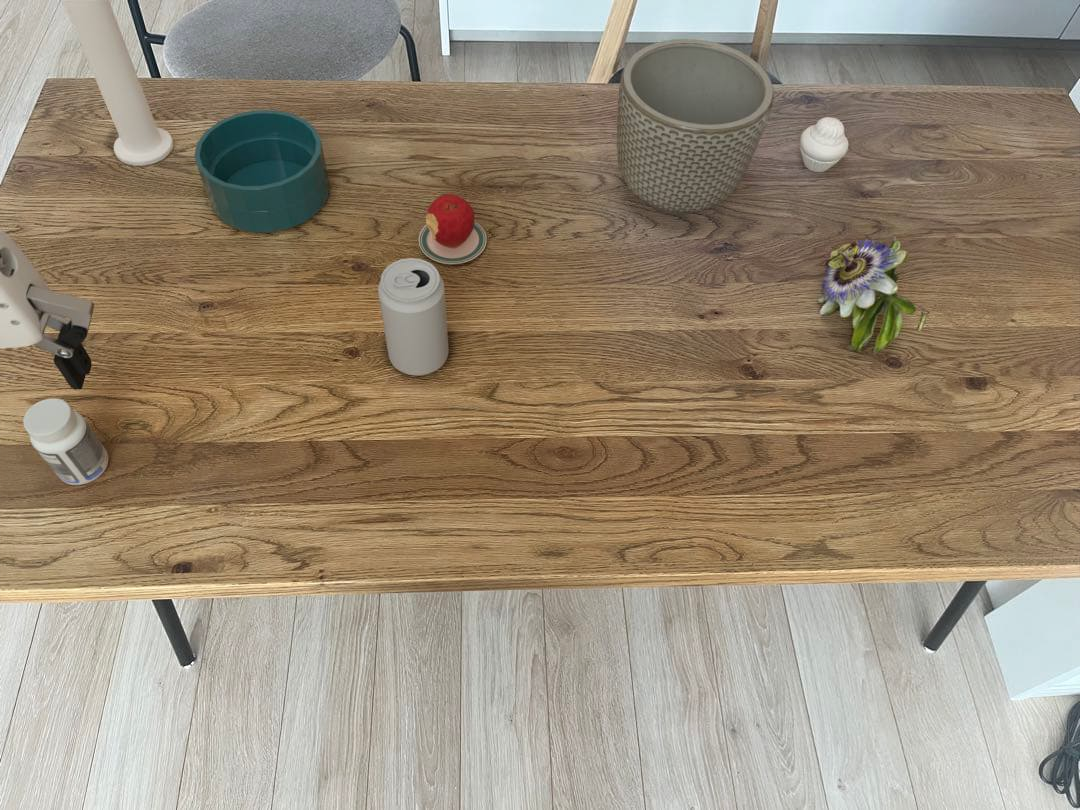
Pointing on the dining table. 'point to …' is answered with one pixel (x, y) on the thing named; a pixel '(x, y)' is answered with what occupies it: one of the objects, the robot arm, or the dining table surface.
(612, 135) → the dining table surface
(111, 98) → the candle
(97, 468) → the pill bottle
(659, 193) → the planter
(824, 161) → the muffin
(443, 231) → the apple
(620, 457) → the dining table surface
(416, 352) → the beverage can
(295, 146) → the teal pet bowl
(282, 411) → the dining table surface
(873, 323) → the passion flower
